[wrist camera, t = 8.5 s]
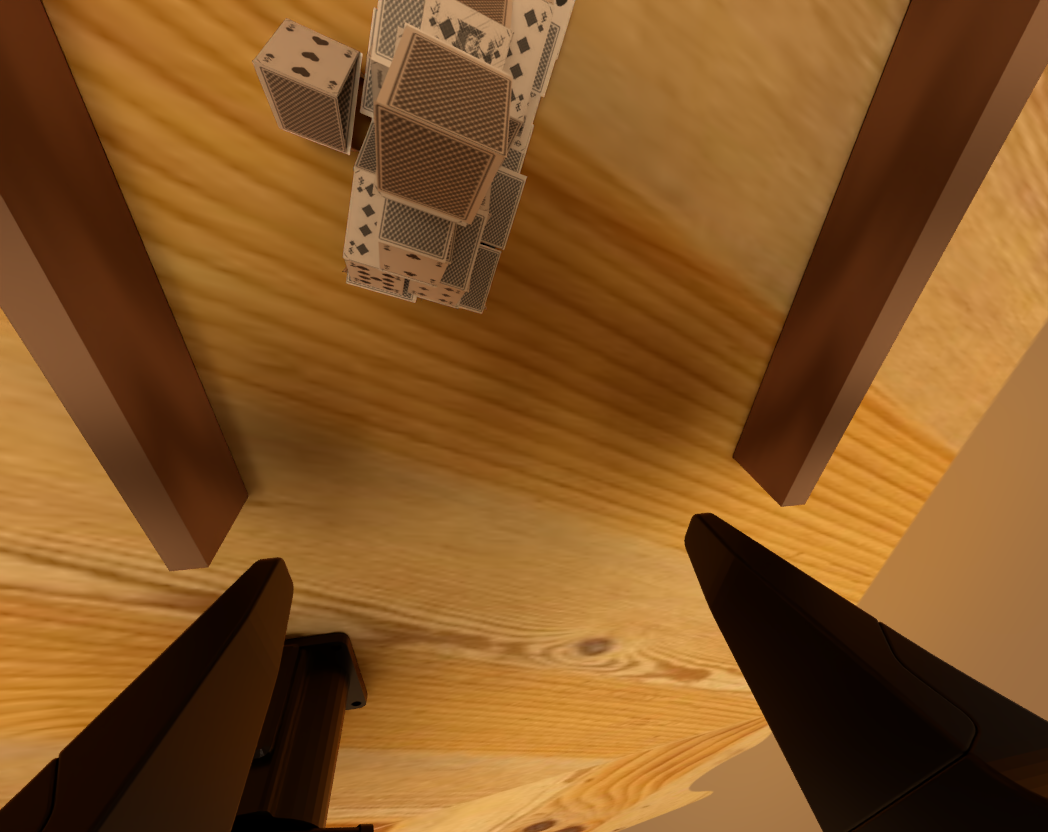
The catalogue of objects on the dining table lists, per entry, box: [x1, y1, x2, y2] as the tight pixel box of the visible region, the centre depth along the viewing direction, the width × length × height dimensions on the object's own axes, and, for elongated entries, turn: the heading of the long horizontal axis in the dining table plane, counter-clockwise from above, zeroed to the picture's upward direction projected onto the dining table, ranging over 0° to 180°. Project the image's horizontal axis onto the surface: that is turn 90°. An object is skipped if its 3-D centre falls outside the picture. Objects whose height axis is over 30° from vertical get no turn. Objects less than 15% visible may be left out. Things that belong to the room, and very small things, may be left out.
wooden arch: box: [0, 0, 1048, 571], centre depth 9 cm, size 20×21×3 cm
